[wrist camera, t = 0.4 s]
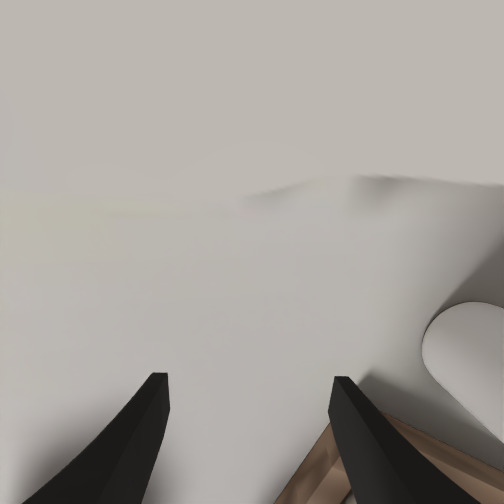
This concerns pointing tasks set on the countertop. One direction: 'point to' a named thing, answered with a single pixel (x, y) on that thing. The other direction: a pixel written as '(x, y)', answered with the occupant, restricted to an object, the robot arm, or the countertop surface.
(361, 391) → the robot arm
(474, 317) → the pill bottle
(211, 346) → the countertop surface
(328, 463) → the knob board
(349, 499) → the outer knob
